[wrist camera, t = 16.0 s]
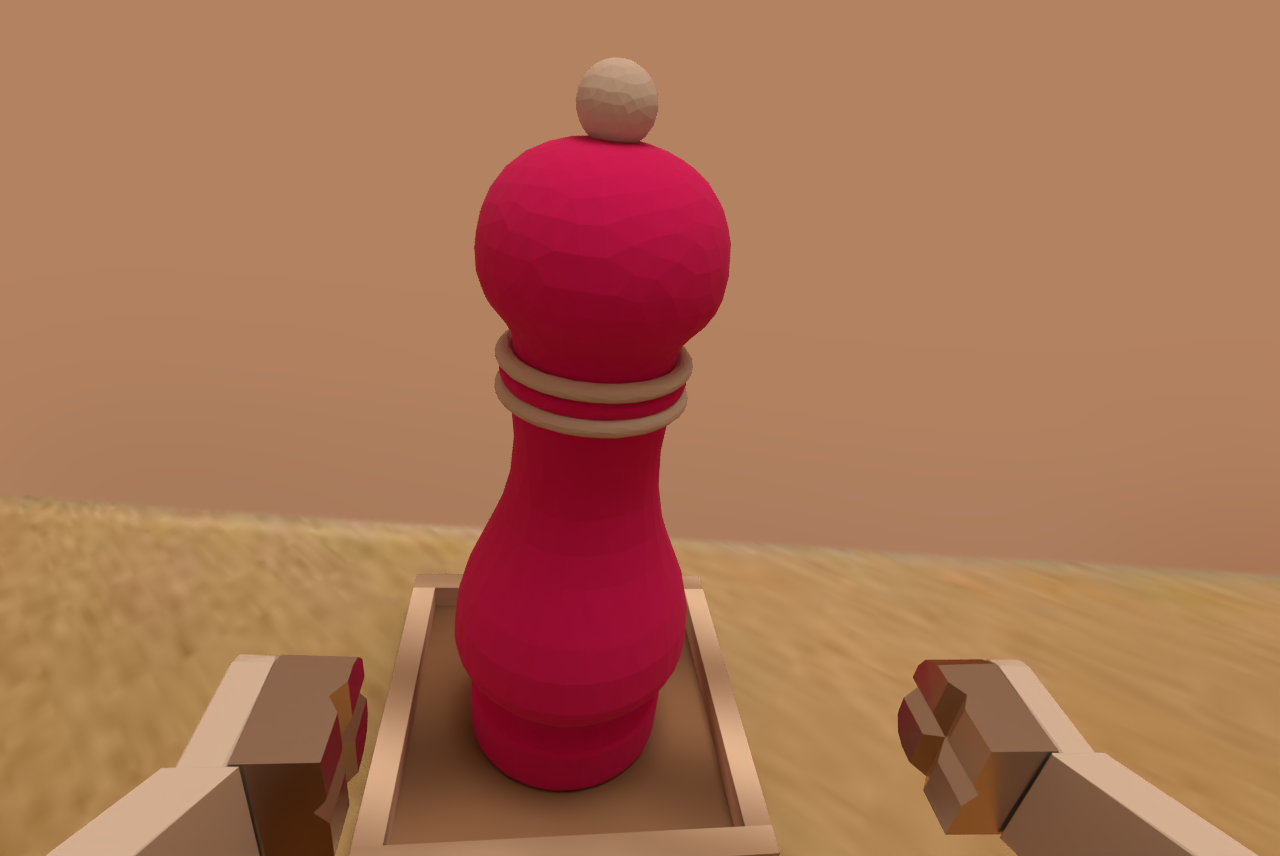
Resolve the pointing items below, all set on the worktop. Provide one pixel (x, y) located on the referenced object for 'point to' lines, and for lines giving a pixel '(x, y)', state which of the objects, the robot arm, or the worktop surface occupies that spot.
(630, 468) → the pepper mill
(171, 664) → the worktop surface
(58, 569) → the worktop surface
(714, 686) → the orange tag dock
